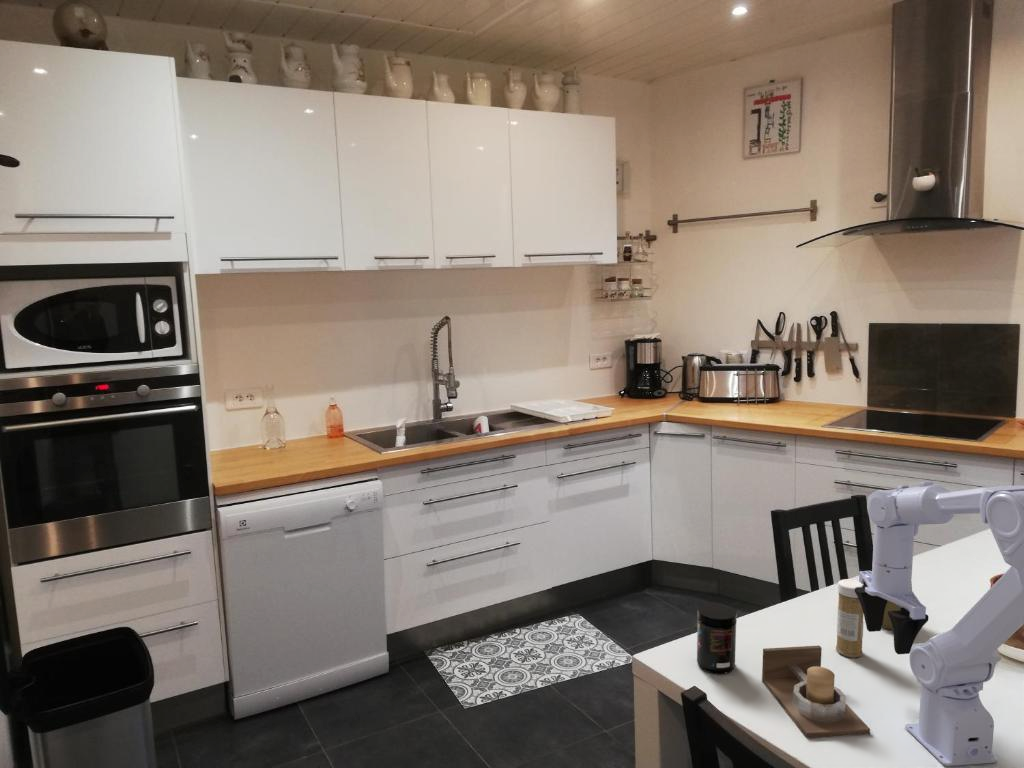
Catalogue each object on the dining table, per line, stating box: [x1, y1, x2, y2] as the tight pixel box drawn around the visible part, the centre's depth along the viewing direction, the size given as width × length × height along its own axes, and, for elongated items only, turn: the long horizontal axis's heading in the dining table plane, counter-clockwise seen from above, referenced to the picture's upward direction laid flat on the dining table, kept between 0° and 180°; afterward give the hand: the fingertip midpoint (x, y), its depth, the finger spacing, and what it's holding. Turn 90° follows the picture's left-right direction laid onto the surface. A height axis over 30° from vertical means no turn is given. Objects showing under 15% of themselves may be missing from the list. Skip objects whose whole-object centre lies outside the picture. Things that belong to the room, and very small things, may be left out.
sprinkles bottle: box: [835, 578, 864, 658], centre depth 134 cm, size 5×5×13 cm
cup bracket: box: [761, 645, 871, 739], centre depth 118 cm, size 16×10×6 cm, turn 4°
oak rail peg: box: [806, 666, 835, 705], centre depth 116 cm, size 4×4×6 cm
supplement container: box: [696, 602, 738, 675], centre depth 131 cm, size 7×7×10 cm
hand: (887, 641), depth 120 cm, fingers open, 7 cm apart
